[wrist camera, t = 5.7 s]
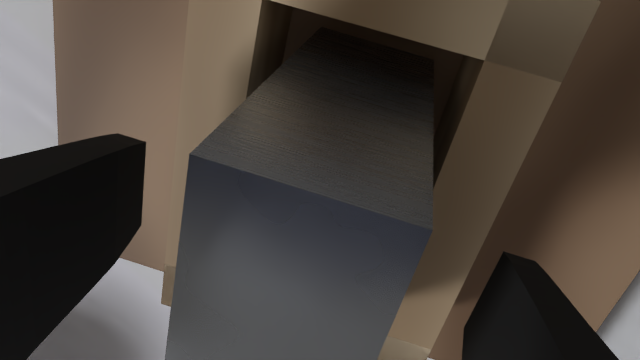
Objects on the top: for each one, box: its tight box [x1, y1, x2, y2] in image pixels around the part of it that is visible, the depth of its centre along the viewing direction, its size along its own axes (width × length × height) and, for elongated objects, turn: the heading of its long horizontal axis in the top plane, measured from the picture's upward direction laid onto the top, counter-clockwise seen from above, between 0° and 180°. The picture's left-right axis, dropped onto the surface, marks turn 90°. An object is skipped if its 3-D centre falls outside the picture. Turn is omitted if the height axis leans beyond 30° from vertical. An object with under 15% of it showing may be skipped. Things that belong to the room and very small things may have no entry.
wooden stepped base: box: [53, 0, 640, 360], centre depth 14 cm, size 18×14×4 cm
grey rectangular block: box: [165, 27, 434, 360], centre depth 11 cm, size 3×6×8 cm, turn 167°
